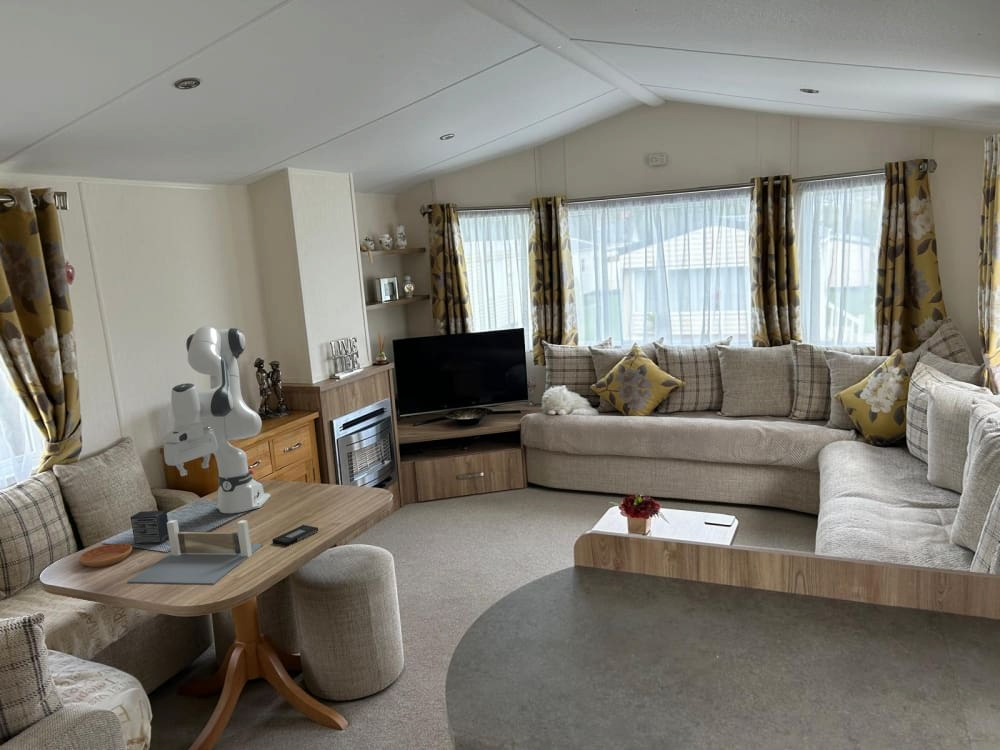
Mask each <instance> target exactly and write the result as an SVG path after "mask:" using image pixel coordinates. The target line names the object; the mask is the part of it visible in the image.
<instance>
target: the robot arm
mask: <svg viewBox="0 0 1000 750" xmlns="http://www.w3.org/2000/svg"><path fill="white" fill-rule="evenodd" d="M185 345H186V350H187V362H188V364H189V366H190V367H191V368H192V369H193V370H194V371H195V372H197V373H199V374H203V375H207V376H209V378H210V379H209V383H210V385H209V386H210V389H200V390H199V389H197V387H196V385H195V384H194V383H186V382H185V383H181V384H177V385H175V386H174V387H172V389H171V391H170V392H171V397H170V399H171V401H170V402H171V403H170V404H171V409H172V410H171V411H172V415H173V417H174V421H173V422H174V423H173V426H174V428H172V430H171V431H169V432H168V433H167V434H165V435H163V437H162V441H163V443H165V444H164V445H163V457H164V462H165V464H166V465H167V466H171V467H172V466H174V467H176V468H177V469H178V471H179V474H180V476H181V477H185V476H187V475H188V469H185V467H184V466H185V463H188V462H190V461H193V460H195V459H199V458H203V462H201V468H202V469H207V468H209V462H210V459H211V454H213V455H214V458H215V460H216V464H217V465H216V466H217V470H218V477H217V478H218V480H217V481H218V485H219V487H218V489H217V496H218V499H217V500H218V504H217V505H216V509H218V510H219V512H220V513H222V514H237V513H243V512H247V511H250V510H256V509H259V508H261V507H262V506H263V505H264V504H265V503H266V502H267V501H268V500H269V498H271V494H270V493H267V492H264V487H263V484H262V483H261V482H259V481H256V480H255V479H253V476H252V475H254V474H255V473H256V472H255V469H249V466H248V465H249V464H248V457H247V454H246V452H245V451H244V450H242V448H238V447H235V446H233V445H232V444H231V443H230V441H232V440H233V441H234V440H242V439H245V440H246V439H248V438H251V437H252V438H253V437H255V436H258V435H259V434H260V432H261V429H262V426H263V423H262V422H263V421H262V418H261V416H260V415H259V414H258V413H257V412H256V411H254V410H253V409H251V408H250V407H249V406H248V405H247V404H246V403H245V401H244V398H243V395H242V389H241V381H240V379H241V378H240V369H239V365H238V360H237V359H239V358H240V356H241V355H242V354H243V352H244V351H245V349H246V338H245V335H244V333H243V331H242V330H241V329H240V328H236V327H235V328H234V327H231V328H218V329H216V328H214V327H212V326H202V327H199V328H197V330H196V331H195V332H194V333H192V334H191V335H189V336H188V338H186V344H185Z"/></svg>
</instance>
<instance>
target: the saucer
mask: <svg viewBox="0 0 1000 750" xmlns="http://www.w3.org/2000/svg"><path fill="white" fill-rule="evenodd" d="M132 551H133V546H132V545H131V544H129V543H124V542H119V543H118V542H117V543H109V544H104V545H101V546H97V547H94V548H92V549H89V550H87V551H85V552H84V553H81V555H80V556H79V559H78V560H79V562H80V563H81V564H83V565H84V566H87V567H88V568H101V567H102V568H103V567H107V566H111V565H115V564H117V563H119V562H121V561H124V560H125V559H126V558H128V556H129V555H130V554H131V552H132Z"/></svg>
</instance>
